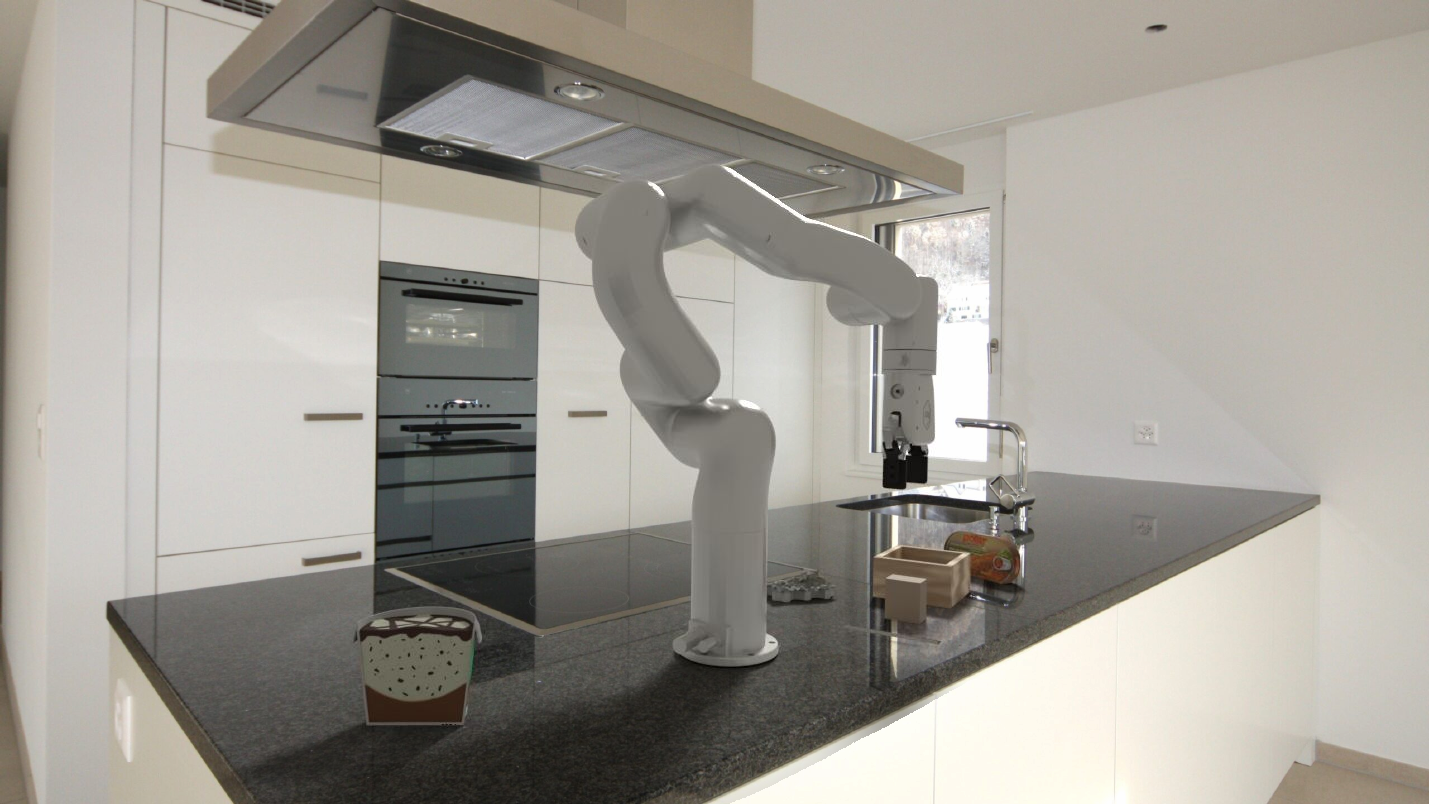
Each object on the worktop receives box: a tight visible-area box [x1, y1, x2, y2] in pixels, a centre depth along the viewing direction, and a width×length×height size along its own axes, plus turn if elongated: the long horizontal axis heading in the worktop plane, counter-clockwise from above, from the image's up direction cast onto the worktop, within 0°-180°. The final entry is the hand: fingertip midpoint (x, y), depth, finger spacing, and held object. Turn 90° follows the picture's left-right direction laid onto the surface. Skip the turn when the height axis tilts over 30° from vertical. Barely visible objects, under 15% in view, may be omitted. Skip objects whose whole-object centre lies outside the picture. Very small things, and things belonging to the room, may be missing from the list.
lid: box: [844, 574, 942, 646], centre depth 113 cm, size 13×13×7 cm
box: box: [872, 544, 971, 609], centre depth 127 cm, size 12×12×7 cm
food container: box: [350, 606, 483, 726], centre depth 81 cm, size 12×6×10 cm, turn 92°
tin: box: [943, 530, 1021, 585], centre depth 140 cm, size 15×3×8 cm, turn 31°
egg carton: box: [767, 569, 838, 603], centre depth 126 cm, size 11×8×4 cm
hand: (905, 485), depth 113 cm, fingers open, 9 cm apart
